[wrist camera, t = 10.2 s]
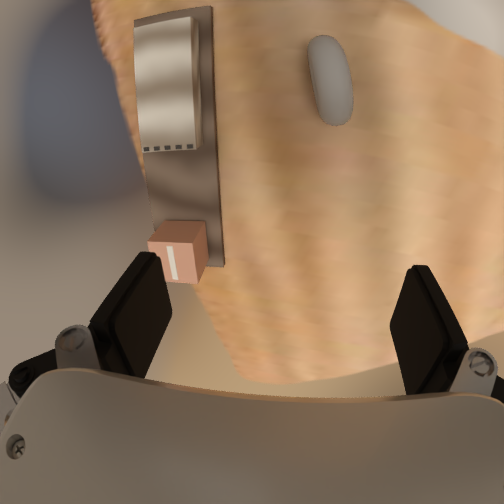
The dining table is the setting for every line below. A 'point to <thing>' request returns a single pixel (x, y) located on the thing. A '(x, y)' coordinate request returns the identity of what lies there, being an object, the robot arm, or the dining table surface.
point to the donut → (330, 80)
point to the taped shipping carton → (181, 250)
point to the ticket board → (190, 167)
